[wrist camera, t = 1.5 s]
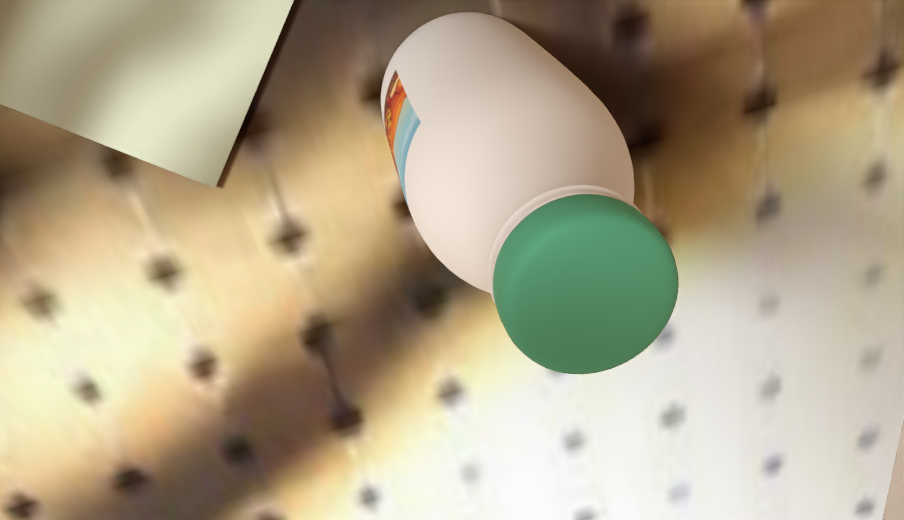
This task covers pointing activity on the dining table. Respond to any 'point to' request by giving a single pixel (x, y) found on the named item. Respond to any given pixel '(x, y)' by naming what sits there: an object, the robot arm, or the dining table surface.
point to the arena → (141, 72)
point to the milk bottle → (526, 192)
